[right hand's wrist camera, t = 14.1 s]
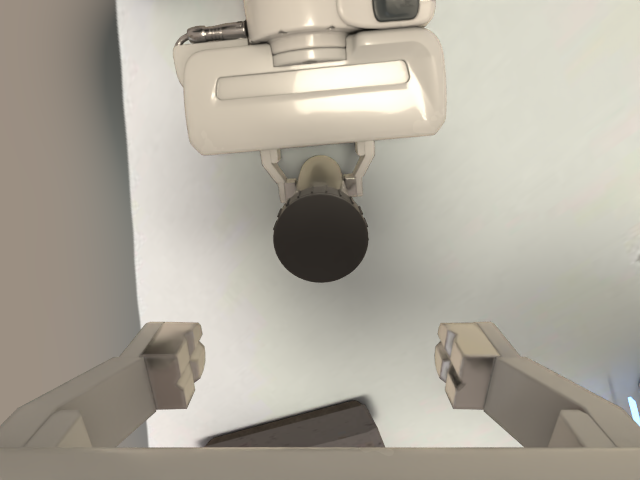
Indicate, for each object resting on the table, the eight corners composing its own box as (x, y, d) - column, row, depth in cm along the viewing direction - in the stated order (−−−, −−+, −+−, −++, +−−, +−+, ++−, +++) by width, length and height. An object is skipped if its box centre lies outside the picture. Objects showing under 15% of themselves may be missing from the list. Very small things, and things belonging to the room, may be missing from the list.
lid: (261, 245, 20) (255, 259, 19) (301, 167, 19) (299, 174, 17) (337, 281, 21) (339, 298, 20) (381, 210, 20) (388, 221, 18)
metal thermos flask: (292, 184, 35) (268, 252, 19) (311, 147, 34) (303, 185, 18) (328, 203, 36) (335, 284, 20) (349, 167, 34) (374, 222, 18)
